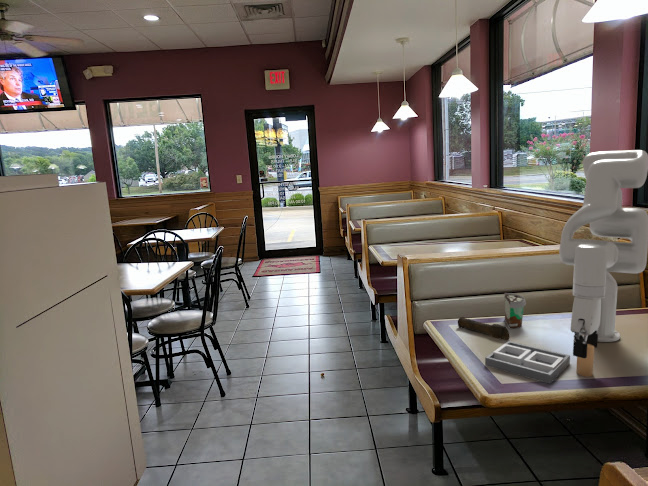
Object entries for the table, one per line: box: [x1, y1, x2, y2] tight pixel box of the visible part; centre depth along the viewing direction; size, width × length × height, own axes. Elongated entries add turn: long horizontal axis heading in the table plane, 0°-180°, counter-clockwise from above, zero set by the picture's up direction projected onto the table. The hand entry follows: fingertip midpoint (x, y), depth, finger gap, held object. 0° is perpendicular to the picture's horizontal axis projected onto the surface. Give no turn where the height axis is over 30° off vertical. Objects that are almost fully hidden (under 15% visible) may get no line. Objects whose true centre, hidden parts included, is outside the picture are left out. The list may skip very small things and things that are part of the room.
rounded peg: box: [575, 344, 595, 378], centre depth 128 cm, size 4×4×8 cm
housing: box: [484, 340, 571, 384], centre depth 136 cm, size 16×18×3 cm
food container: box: [504, 292, 527, 329], centre depth 168 cm, size 12×6×10 cm, turn 168°
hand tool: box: [457, 316, 510, 341], centre depth 161 cm, size 19×4×5 cm, turn 37°
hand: (585, 351), depth 127 cm, fingers open, 9 cm apart
